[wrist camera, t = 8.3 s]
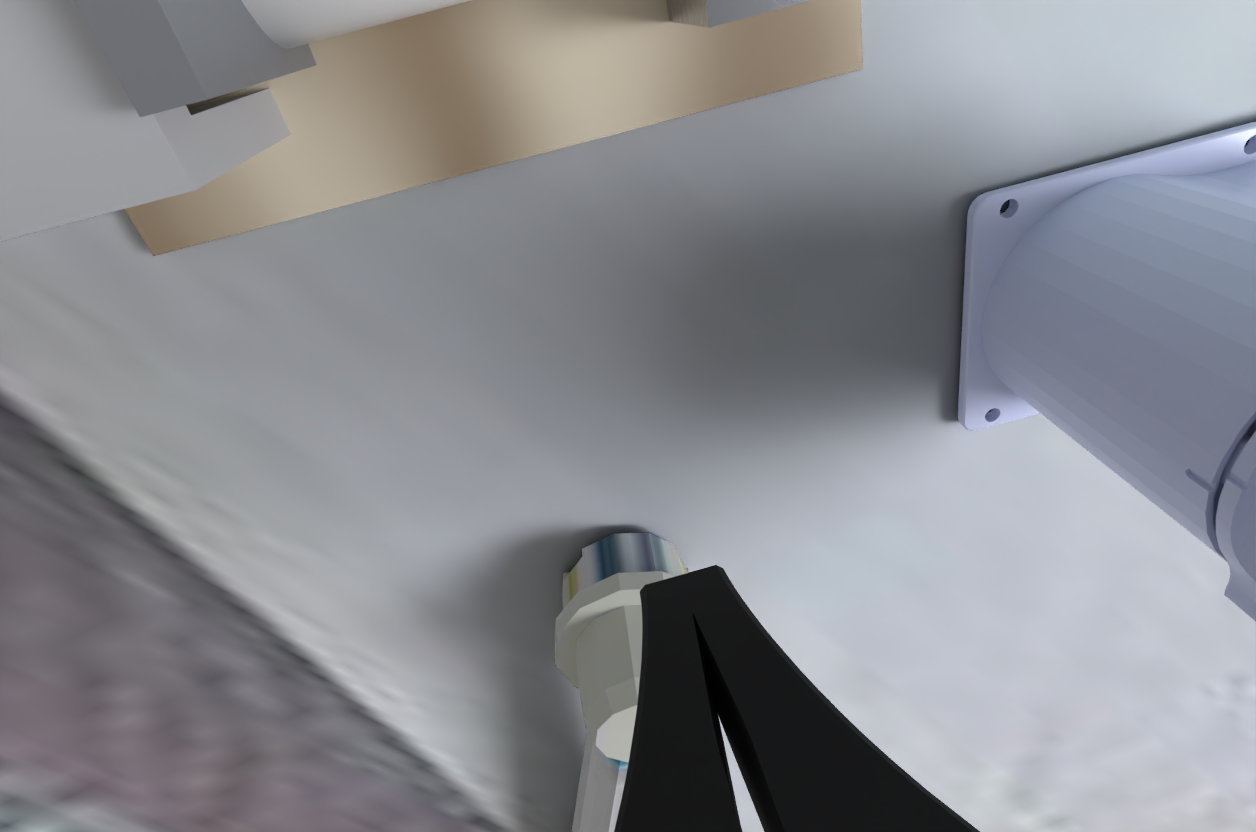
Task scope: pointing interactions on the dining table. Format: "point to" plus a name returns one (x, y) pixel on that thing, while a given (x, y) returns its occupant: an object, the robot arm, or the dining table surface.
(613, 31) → the board
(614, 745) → the grey capped rod
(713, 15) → the grey parallel plates
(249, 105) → the socket
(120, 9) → the tube
